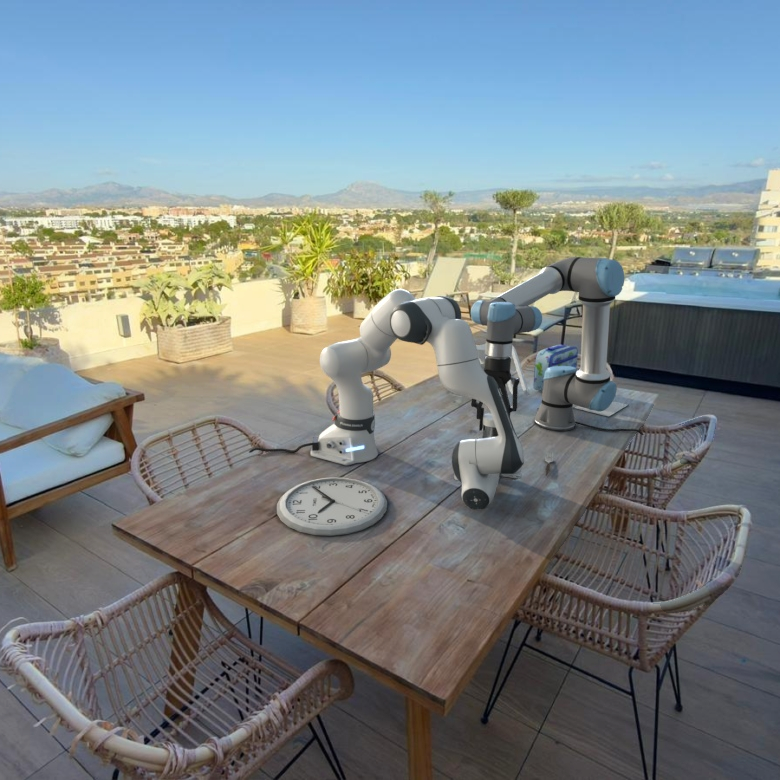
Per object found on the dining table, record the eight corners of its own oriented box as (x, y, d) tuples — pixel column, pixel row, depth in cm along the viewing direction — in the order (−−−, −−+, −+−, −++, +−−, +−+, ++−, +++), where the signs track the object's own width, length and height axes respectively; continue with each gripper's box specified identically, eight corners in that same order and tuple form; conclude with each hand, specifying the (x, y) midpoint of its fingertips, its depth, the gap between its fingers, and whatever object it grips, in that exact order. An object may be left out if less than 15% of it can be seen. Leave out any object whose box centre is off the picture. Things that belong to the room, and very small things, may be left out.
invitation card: (608, 416, 214) (573, 407, 224) (608, 416, 214) (573, 408, 224) (628, 404, 229) (594, 396, 238) (628, 405, 229) (594, 397, 238)
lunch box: (550, 397, 237) (555, 352, 231) (529, 391, 245) (533, 348, 238) (577, 386, 255) (582, 344, 249) (556, 381, 262) (561, 340, 256)
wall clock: (392, 527, 129) (268, 531, 127) (391, 533, 130) (269, 537, 127) (383, 473, 158) (282, 475, 155) (383, 478, 158) (282, 480, 156)
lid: (487, 418, 162) (488, 411, 161) (506, 423, 159) (506, 415, 158) (478, 424, 157) (479, 417, 156) (498, 429, 154) (498, 421, 153)
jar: (484, 468, 166) (488, 413, 161) (500, 473, 163) (505, 417, 158) (476, 474, 162) (480, 418, 156) (493, 479, 159) (497, 422, 154)
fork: (541, 476, 161) (542, 470, 161) (545, 456, 176) (546, 450, 175) (550, 477, 161) (551, 471, 160) (553, 457, 175) (554, 451, 174)
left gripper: (522, 469, 145) (525, 450, 158) (449, 458, 151) (458, 441, 164) (520, 489, 147) (523, 469, 160) (448, 478, 153) (457, 459, 166)
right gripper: (532, 356, 152) (524, 430, 159) (467, 350, 158) (462, 422, 164) (531, 362, 145) (523, 439, 152) (463, 356, 151) (458, 431, 158)
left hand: (490, 454), depth 162 cm, fingers closed on jar, 5 cm apart
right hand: (492, 430), depth 158 cm, fingers closed on lid, 6 cm apart
